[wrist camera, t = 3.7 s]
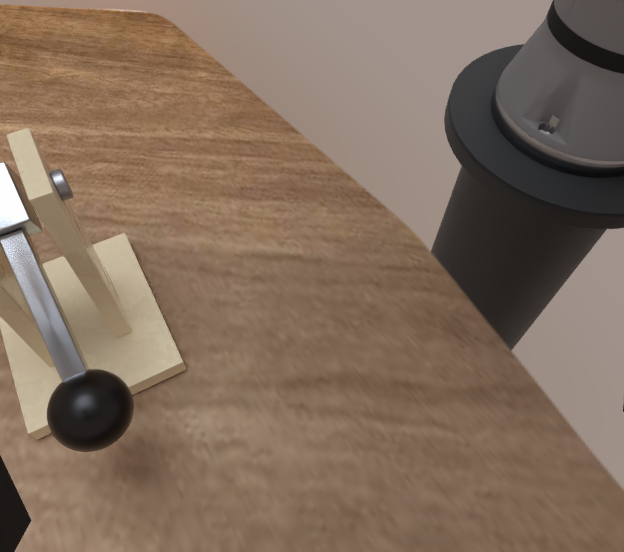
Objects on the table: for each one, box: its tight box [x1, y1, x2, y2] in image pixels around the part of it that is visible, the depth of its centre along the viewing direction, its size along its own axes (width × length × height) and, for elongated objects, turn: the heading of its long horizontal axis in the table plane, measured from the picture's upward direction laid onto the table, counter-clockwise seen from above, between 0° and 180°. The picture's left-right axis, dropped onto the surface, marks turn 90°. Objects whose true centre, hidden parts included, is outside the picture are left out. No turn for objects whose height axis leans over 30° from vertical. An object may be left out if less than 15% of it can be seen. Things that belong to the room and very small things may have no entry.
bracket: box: [0, 128, 186, 440], centre depth 28 cm, size 11×9×14 cm
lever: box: [0, 162, 134, 452], centre depth 24 cm, size 13×4×4 cm, turn 29°
